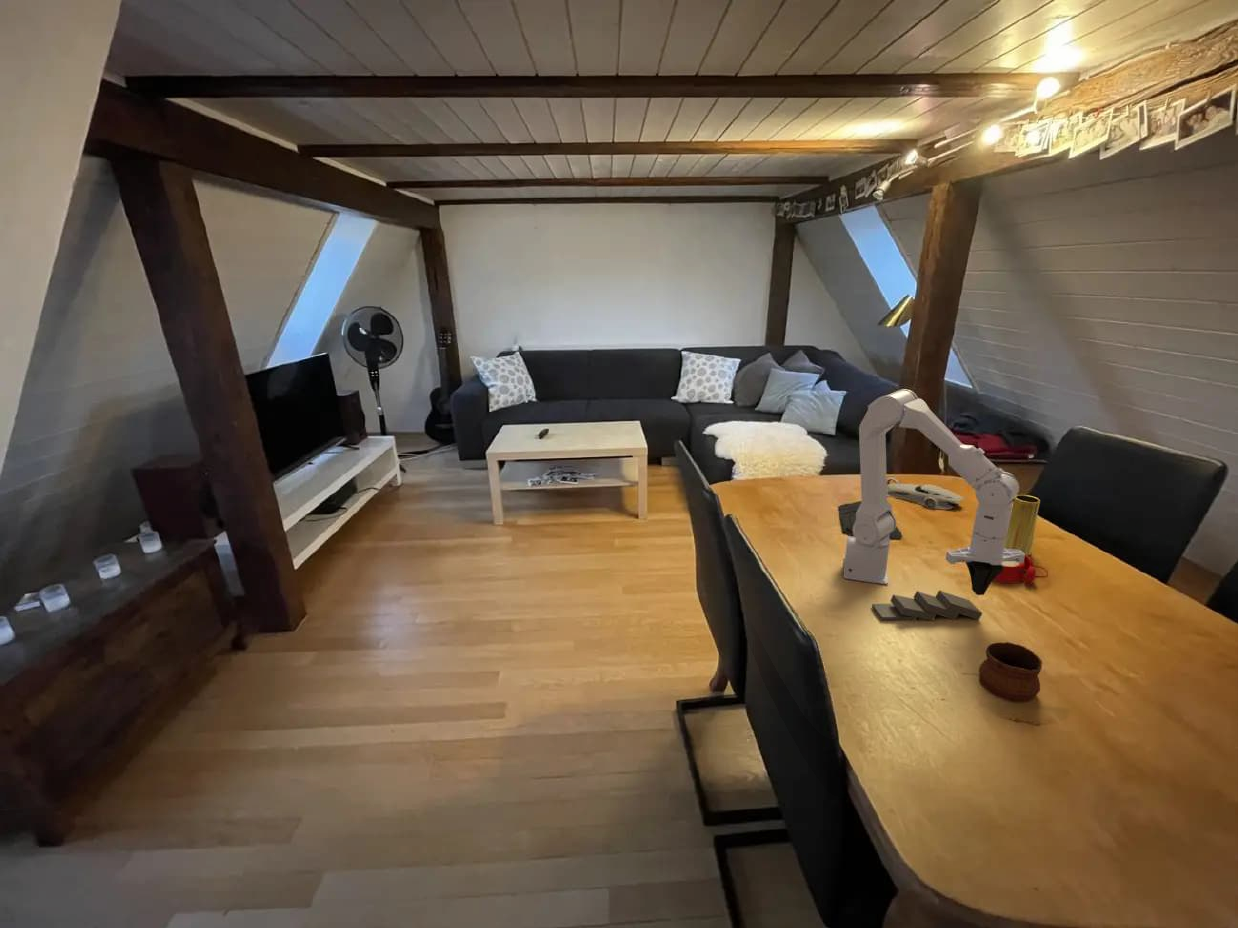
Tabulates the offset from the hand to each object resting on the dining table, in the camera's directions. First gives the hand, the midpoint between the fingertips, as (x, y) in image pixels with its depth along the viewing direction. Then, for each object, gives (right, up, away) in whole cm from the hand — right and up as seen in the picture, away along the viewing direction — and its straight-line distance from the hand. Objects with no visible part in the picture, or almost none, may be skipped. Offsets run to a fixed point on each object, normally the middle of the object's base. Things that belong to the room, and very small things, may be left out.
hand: (977, 592), depth 119 cm
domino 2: (-5, -4, +2) cm, 6 cm away
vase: (+26, +4, +26) cm, 38 cm away
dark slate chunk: (-4, +9, +45) cm, 46 cm away
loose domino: (-13, -5, +2) cm, 14 cm away
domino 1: (-10, -4, +1) cm, 11 cm away
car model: (+19, +15, +61) cm, 65 cm away
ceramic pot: (-7, -13, -19) cm, 24 cm away
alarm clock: (+17, 0, +16) cm, 23 cm away
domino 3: (0, -4, +1) cm, 4 cm away
